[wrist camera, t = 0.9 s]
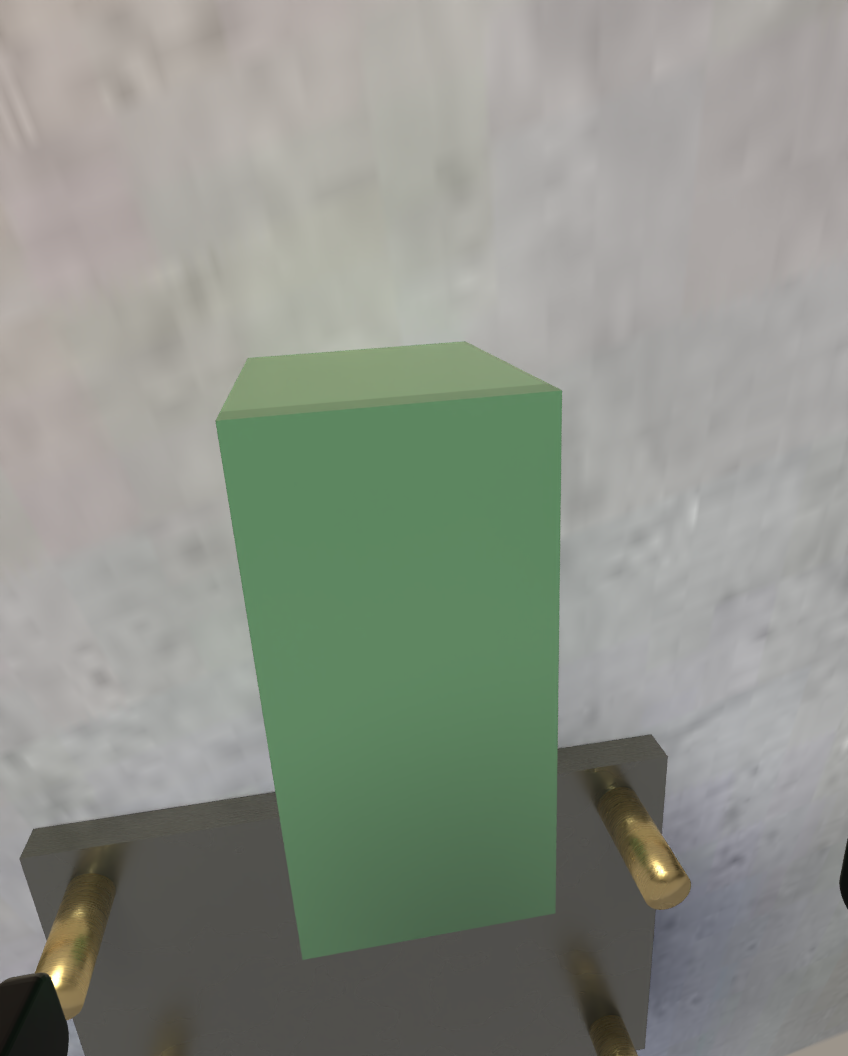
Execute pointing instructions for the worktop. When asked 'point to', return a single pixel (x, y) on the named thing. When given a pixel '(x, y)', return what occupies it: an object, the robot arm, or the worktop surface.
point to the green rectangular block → (403, 631)
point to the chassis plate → (361, 975)
